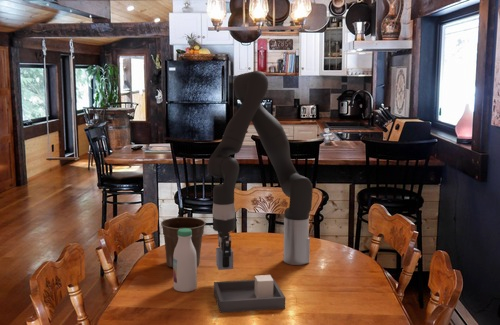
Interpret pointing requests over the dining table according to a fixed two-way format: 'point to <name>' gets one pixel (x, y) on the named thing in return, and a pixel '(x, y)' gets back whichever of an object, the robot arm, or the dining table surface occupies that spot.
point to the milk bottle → (184, 262)
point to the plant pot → (171, 235)
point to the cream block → (263, 286)
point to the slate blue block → (220, 262)
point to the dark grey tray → (245, 297)
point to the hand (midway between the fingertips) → (224, 264)
